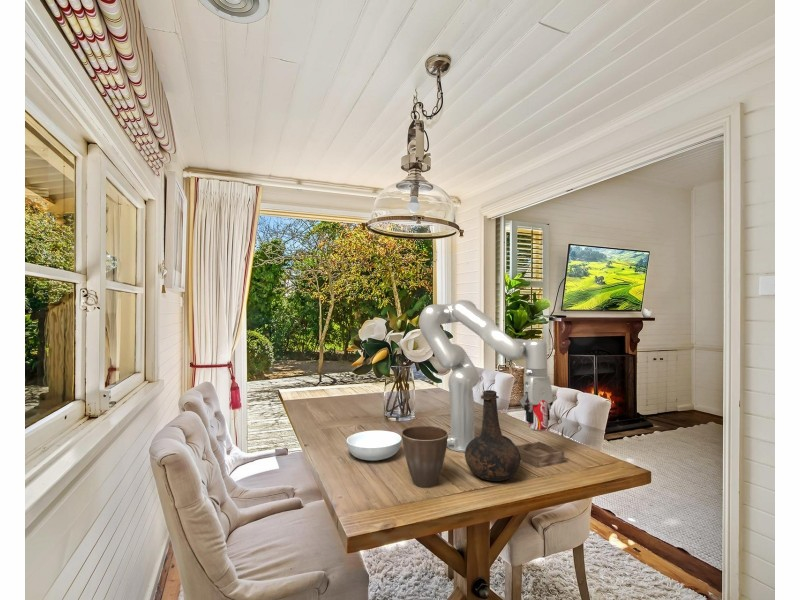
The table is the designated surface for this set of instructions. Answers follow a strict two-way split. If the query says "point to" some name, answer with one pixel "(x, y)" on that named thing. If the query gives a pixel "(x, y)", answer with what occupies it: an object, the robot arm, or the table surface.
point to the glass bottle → (492, 446)
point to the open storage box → (540, 454)
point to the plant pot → (424, 453)
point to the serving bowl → (374, 444)
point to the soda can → (539, 416)
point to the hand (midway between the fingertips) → (537, 420)
